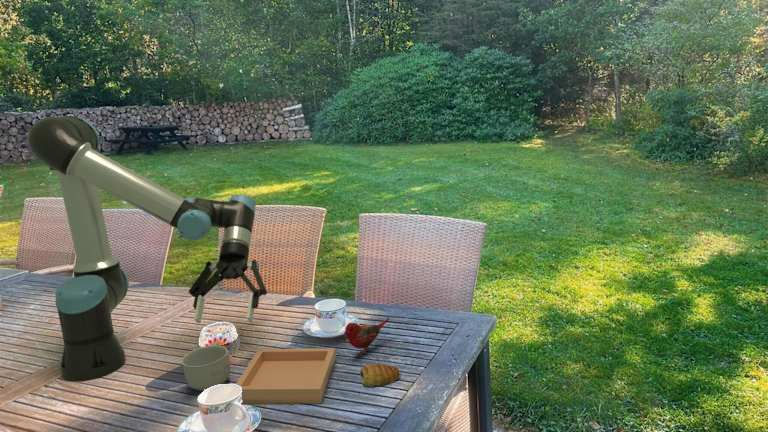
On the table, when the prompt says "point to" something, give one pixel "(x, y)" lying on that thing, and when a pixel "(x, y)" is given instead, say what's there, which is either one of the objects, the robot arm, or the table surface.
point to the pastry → (378, 374)
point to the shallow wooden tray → (287, 375)
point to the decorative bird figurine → (362, 334)
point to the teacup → (206, 366)
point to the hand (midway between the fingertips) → (223, 320)
